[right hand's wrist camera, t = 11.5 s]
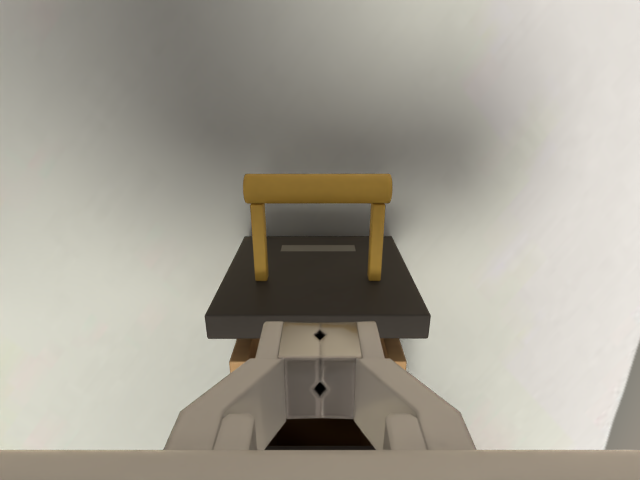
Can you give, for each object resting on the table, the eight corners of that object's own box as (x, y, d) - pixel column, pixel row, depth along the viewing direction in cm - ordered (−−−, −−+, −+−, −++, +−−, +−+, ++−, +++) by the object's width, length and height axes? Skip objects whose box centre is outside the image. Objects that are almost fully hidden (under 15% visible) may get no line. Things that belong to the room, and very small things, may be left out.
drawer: (238, 153, 23) (188, 192, 14) (397, 153, 23) (446, 192, 14) (261, 460, 32) (239, 599, 23) (375, 459, 32) (397, 599, 23)
